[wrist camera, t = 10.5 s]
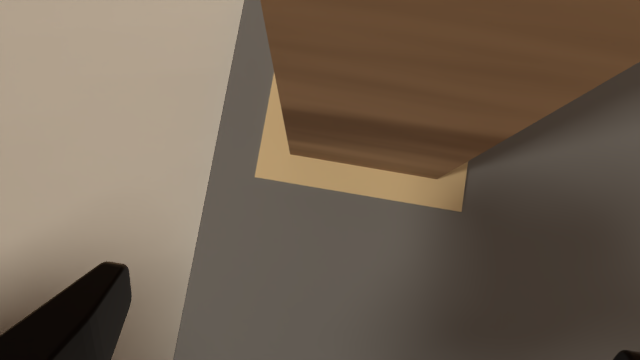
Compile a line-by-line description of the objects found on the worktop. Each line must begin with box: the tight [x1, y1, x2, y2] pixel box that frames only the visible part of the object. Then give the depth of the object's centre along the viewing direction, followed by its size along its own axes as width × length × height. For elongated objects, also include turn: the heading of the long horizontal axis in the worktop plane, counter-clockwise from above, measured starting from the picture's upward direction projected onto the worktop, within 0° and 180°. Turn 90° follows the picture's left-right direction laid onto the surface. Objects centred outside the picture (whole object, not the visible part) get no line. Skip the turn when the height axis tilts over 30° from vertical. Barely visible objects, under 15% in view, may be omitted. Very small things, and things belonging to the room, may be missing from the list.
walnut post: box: [260, 0, 640, 179], centre depth 12 cm, size 5×5×13 cm
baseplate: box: [173, 0, 640, 360], centre depth 18 cm, size 16×16×1 cm
